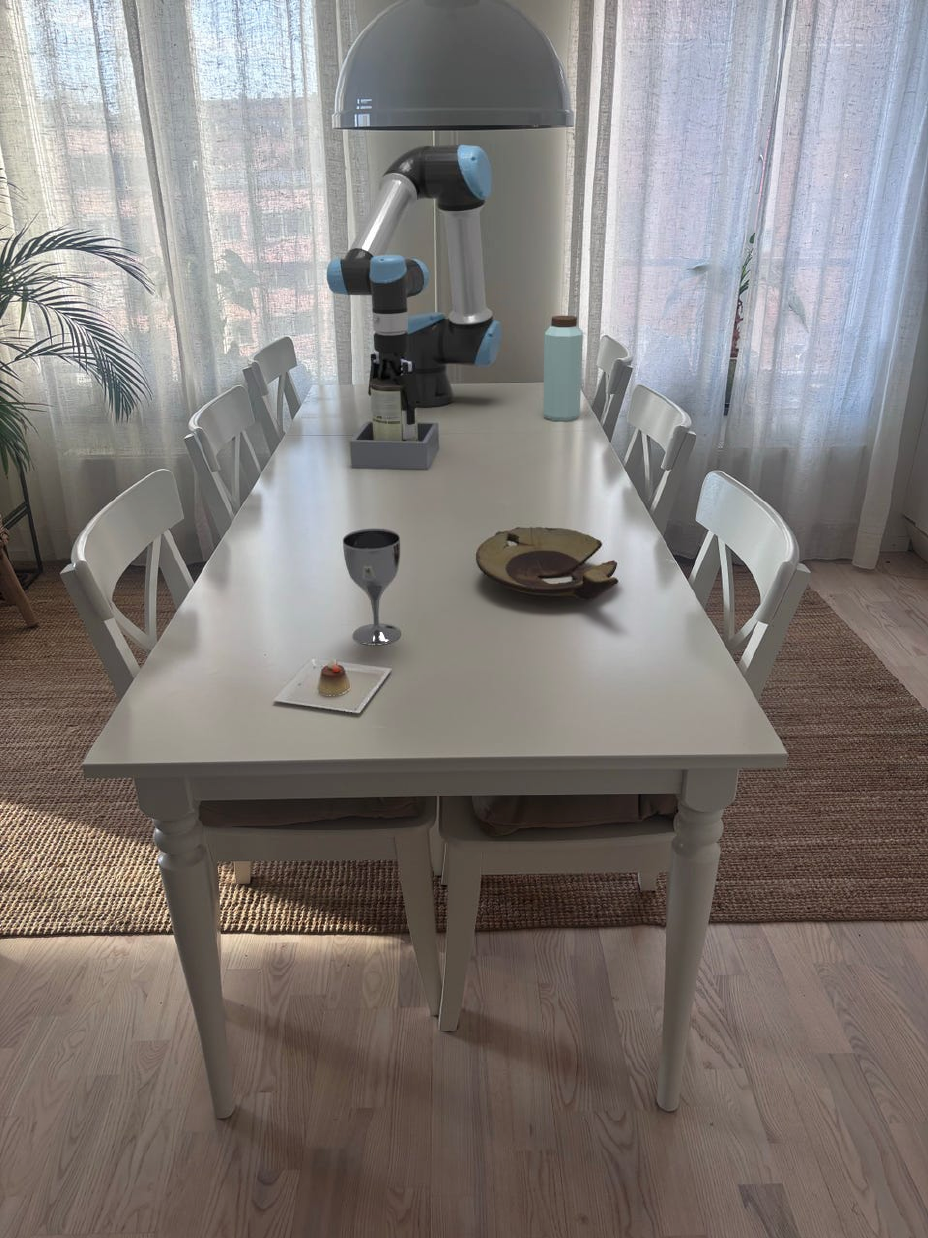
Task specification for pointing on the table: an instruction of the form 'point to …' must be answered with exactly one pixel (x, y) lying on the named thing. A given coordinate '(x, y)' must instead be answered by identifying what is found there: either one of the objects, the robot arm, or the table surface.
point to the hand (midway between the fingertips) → (395, 433)
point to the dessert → (329, 681)
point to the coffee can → (388, 411)
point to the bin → (394, 449)
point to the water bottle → (562, 369)
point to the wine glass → (373, 576)
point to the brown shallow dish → (545, 562)
